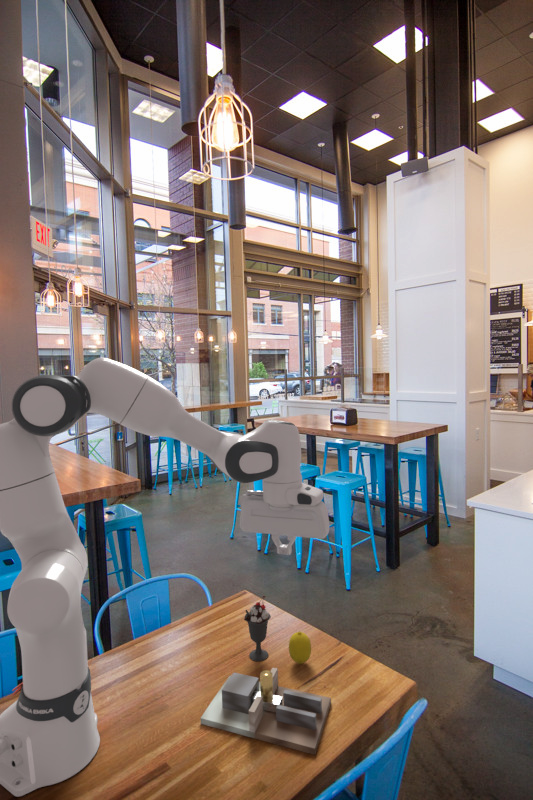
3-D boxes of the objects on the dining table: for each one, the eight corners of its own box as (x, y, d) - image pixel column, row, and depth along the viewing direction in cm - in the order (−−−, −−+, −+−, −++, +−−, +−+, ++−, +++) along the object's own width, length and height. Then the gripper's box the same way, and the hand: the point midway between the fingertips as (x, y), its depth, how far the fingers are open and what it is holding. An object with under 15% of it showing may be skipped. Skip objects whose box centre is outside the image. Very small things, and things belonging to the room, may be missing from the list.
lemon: (310, 672, 105) (309, 639, 104) (287, 669, 106) (286, 637, 106) (312, 658, 110) (311, 626, 110) (290, 655, 111) (290, 624, 111)
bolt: (282, 705, 92) (281, 673, 92) (278, 713, 89) (277, 681, 89) (230, 692, 96) (229, 662, 96) (225, 700, 94) (224, 669, 93)
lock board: (331, 703, 94) (330, 679, 94) (315, 754, 81) (314, 727, 81) (229, 680, 103) (229, 658, 102) (200, 723, 89) (199, 698, 89)
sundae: (276, 652, 113) (275, 595, 112) (262, 666, 107) (260, 606, 107) (255, 644, 116) (253, 589, 116) (240, 658, 111) (238, 600, 110)
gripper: (234, 493, 98) (236, 554, 98) (323, 498, 91) (325, 564, 91) (245, 486, 104) (247, 544, 104) (330, 491, 97) (331, 553, 97)
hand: (284, 553), depth 98 cm, fingers closed
